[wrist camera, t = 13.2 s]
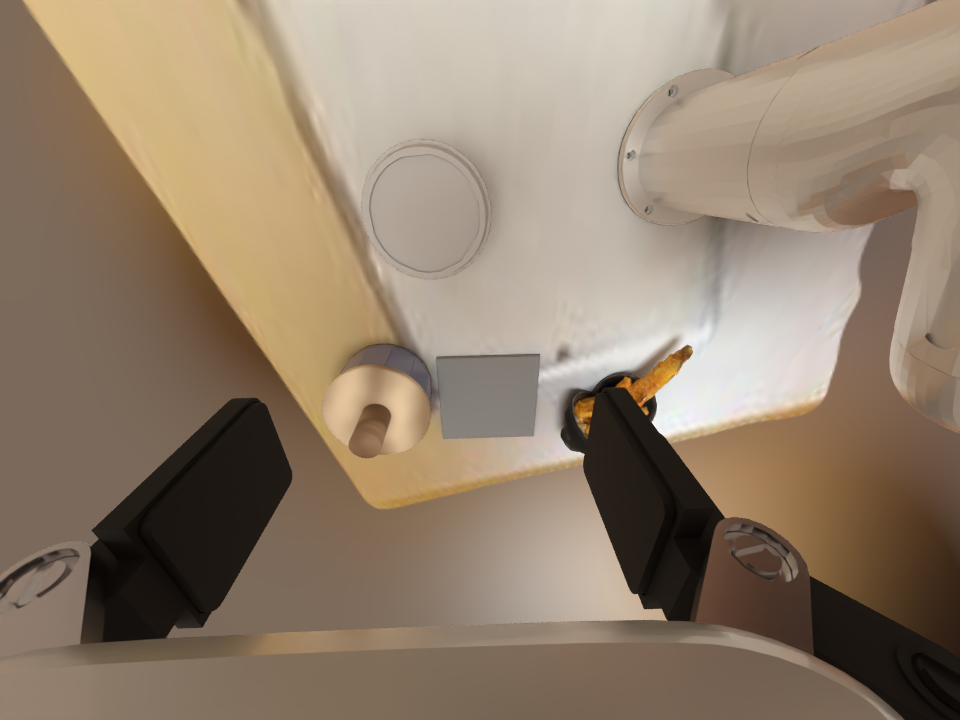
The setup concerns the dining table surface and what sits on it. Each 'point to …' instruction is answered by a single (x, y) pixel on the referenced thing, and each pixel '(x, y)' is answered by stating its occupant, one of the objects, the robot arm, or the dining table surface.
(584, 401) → the black dish with food
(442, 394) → the mat
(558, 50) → the dining table surface
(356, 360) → the bowl
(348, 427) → the lid
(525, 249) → the dining table surface
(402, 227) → the disposable coffee cup
